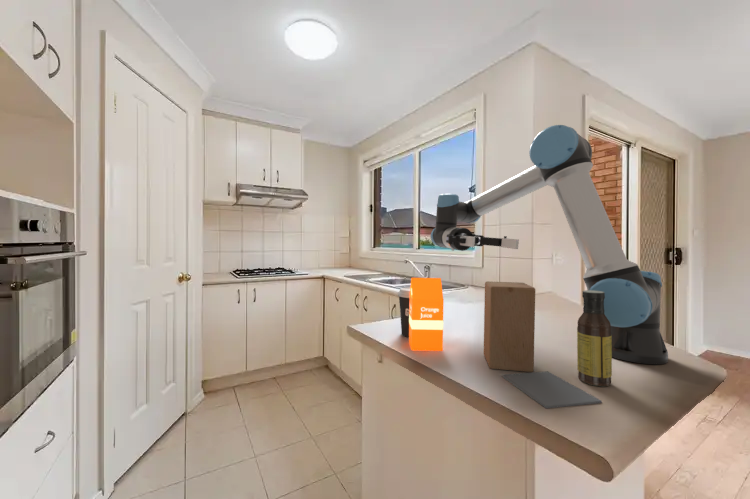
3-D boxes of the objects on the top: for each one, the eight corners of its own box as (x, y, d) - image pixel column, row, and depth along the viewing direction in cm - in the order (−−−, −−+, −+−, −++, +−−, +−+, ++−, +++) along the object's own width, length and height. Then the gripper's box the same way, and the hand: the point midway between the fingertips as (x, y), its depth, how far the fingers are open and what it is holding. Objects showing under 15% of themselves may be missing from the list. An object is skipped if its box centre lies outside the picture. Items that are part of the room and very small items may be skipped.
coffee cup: (395, 338, 99) (396, 290, 99) (398, 330, 108) (398, 286, 108) (426, 340, 97) (427, 291, 97) (426, 331, 107) (427, 287, 107)
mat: (501, 376, 71) (501, 374, 71) (547, 372, 73) (547, 371, 73) (546, 408, 57) (546, 406, 57) (601, 402, 60) (601, 400, 60)
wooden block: (534, 373, 73) (536, 287, 73) (489, 369, 75) (490, 286, 75) (523, 358, 83) (524, 282, 83) (483, 354, 85) (484, 281, 85)
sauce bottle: (602, 376, 72) (604, 289, 71) (617, 389, 65) (620, 294, 65) (571, 374, 73) (573, 288, 73) (583, 386, 67) (585, 292, 66)
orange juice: (408, 341, 95) (409, 276, 95) (437, 342, 95) (438, 276, 95) (411, 350, 88) (412, 279, 87) (443, 351, 88) (444, 279, 87)
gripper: (489, 251, 110) (533, 258, 89) (422, 248, 104) (453, 254, 83) (491, 229, 109) (536, 231, 88) (424, 225, 103) (455, 226, 83)
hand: (495, 243), depth 86 cm, fingers open, 13 cm apart
